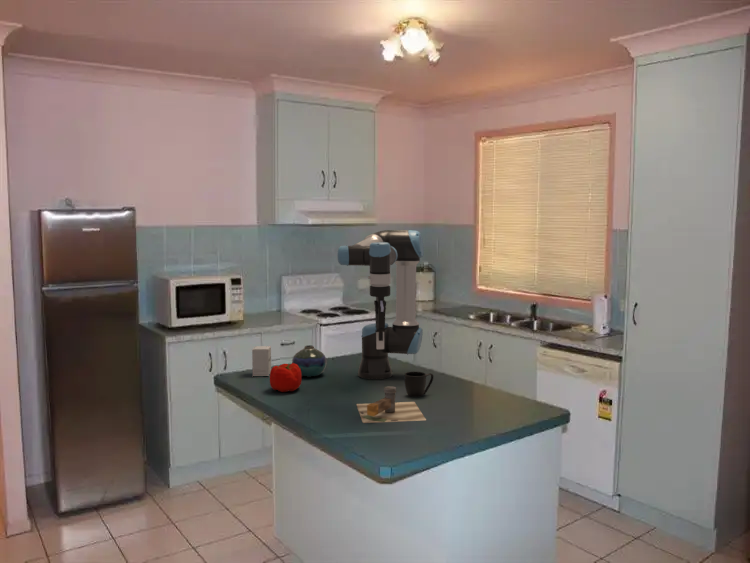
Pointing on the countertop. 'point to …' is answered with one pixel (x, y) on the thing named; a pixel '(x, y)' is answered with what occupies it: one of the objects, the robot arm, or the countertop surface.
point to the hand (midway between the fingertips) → (380, 348)
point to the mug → (416, 383)
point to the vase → (310, 361)
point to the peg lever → (383, 402)
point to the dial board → (393, 413)
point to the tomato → (285, 377)
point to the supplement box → (261, 360)
